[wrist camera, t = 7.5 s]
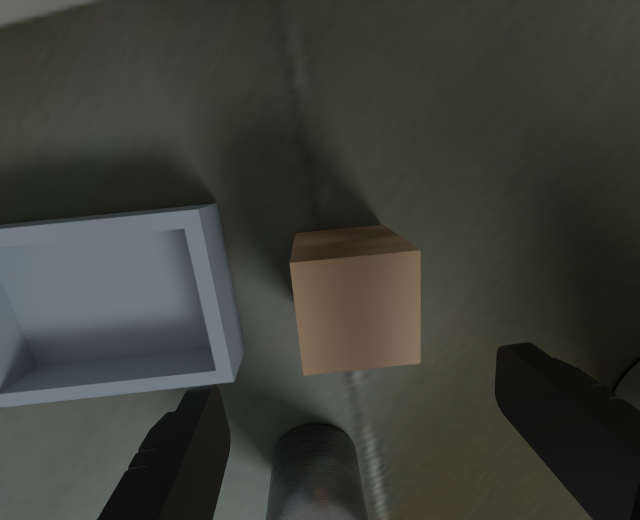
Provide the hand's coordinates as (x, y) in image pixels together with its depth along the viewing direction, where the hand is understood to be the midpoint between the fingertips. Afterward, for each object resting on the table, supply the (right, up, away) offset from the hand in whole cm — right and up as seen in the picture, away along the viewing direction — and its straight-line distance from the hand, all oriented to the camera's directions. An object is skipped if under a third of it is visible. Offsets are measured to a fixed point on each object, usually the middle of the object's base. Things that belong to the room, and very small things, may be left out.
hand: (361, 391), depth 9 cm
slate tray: (-13, +2, +9) cm, 16 cm away
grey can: (-2, -11, +13) cm, 17 cm away
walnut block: (0, +3, +9) cm, 10 cm away
